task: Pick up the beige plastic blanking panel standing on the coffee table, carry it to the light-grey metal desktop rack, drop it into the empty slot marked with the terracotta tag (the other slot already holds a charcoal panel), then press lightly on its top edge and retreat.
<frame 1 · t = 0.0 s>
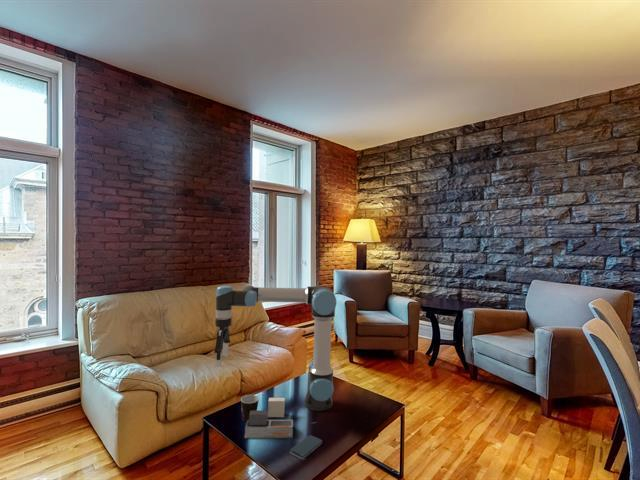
hand: (222, 360, 159), 28 cm above the table, fingers open, 13 cm apart
rack: (269, 432, 148), on the table
coffee mug: (250, 418, 160), on the table
blank panel: (276, 415, 163), on the table
smartphone: (306, 449, 138), on the table
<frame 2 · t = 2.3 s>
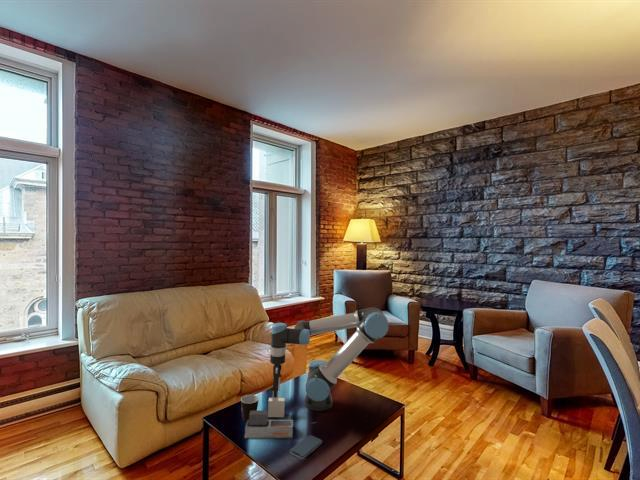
hand: (276, 396, 163), 9 cm above the table, fingers open, 13 cm apart
nothing on the table moved.
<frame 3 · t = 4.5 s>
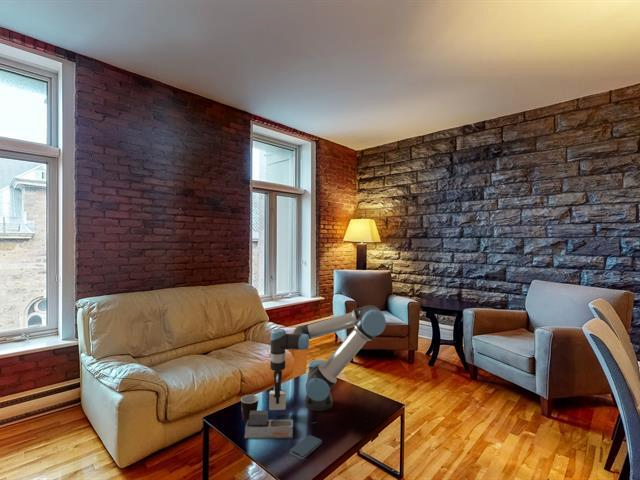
hand: (277, 407, 163), 4 cm above the table, fingers closed on blank panel, 3 cm apart
blank panel: (277, 408, 163), point 4 cm above the table, touching gripper
everything else where it was.
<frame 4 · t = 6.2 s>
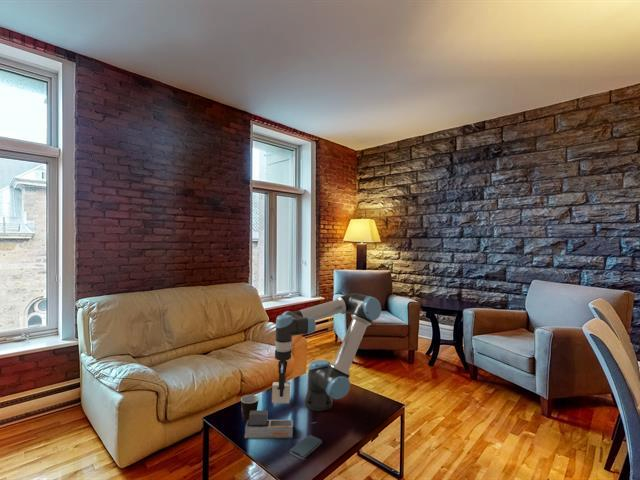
hand: (281, 400, 149), 15 cm above the table, fingers closed on blank panel, 3 cm apart
blank panel: (280, 401, 149), point 14 cm above the table, touching gripper
everything else where it was.
when the fingers open (5 cm above the table, at t = 8.1 s): blank panel drops 4 cm, resting on rack.
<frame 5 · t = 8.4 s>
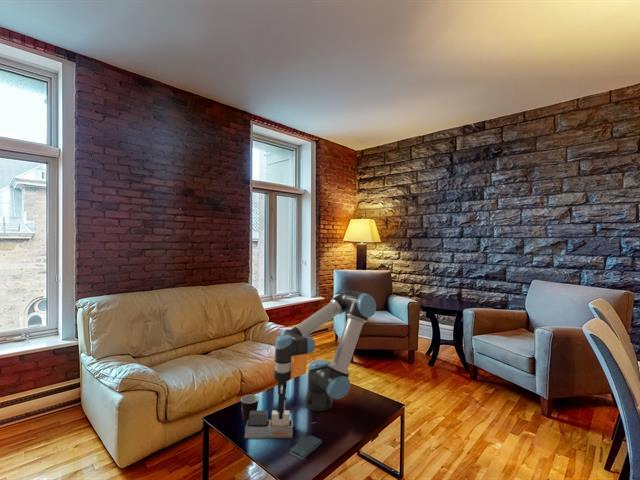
hand: (281, 419, 149), 6 cm above the table, fingers open, 8 cm apart
blank panel: (280, 429, 149), point 1 cm above the table, touching rack
everything else where it was.
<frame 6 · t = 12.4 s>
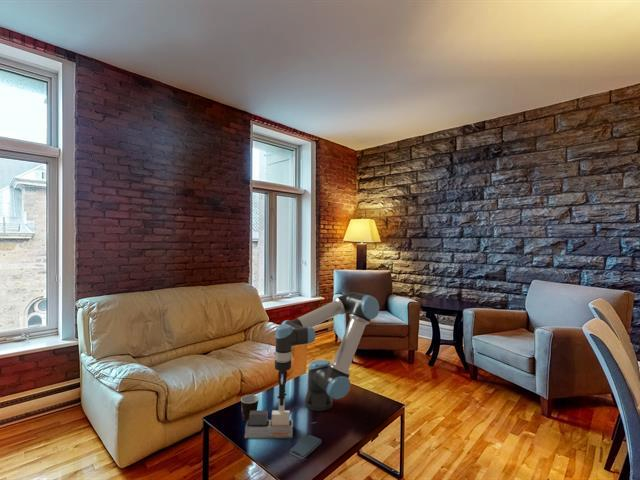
hand: (281, 411, 149), 10 cm above the table, fingers closed
nothing on the table moved.
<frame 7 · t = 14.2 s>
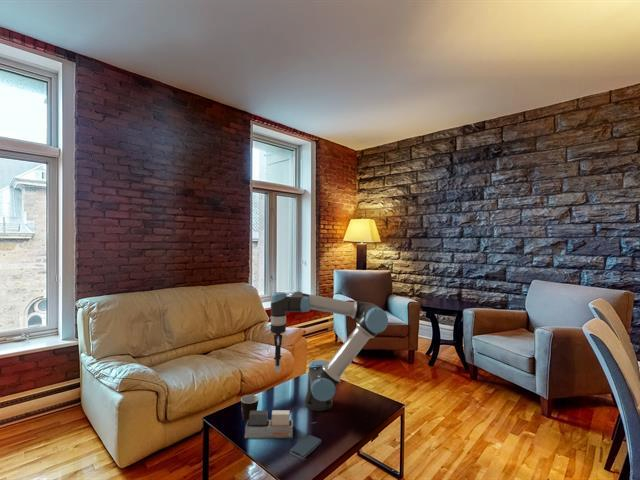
hand: (277, 371, 160), 23 cm above the table, fingers closed
nothing on the table moved.
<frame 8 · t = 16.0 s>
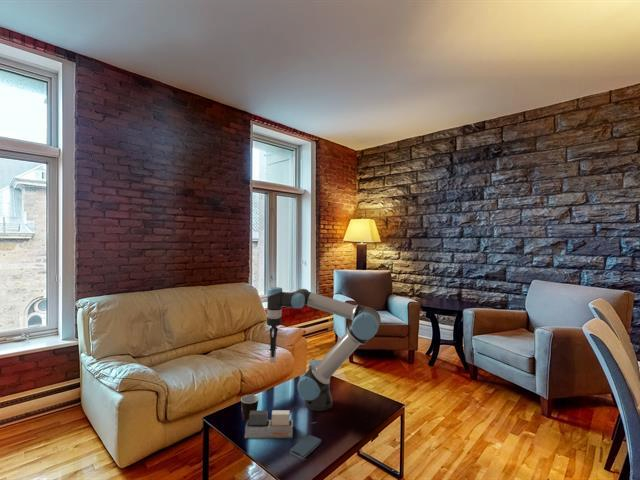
hand: (272, 362, 169), 24 cm above the table, fingers closed
nothing on the table moved.
at the end: blank panel 0.4 cm from the target spot on the rack, point 1.0 cm above the rack's base; blank panel tilted 0°; the gripper is holding nothing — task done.
